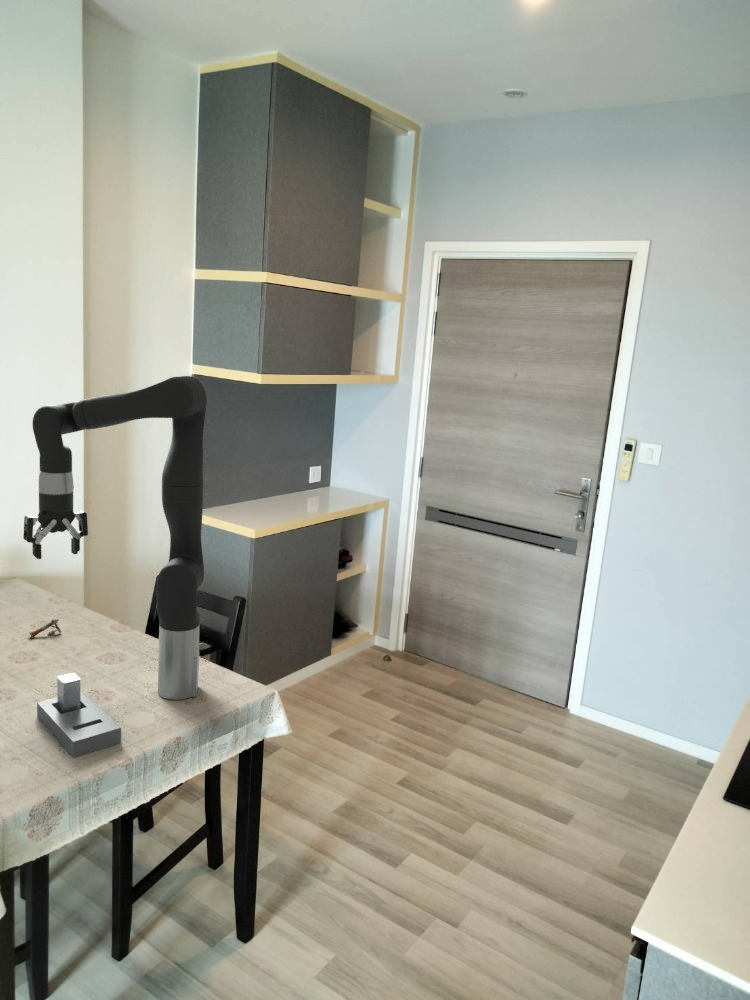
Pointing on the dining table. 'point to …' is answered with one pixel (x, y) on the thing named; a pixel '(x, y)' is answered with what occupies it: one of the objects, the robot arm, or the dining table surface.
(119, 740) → the holder
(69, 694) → the grey square peg
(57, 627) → the brown lamp post
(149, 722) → the dining table surface
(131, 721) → the dining table surface
